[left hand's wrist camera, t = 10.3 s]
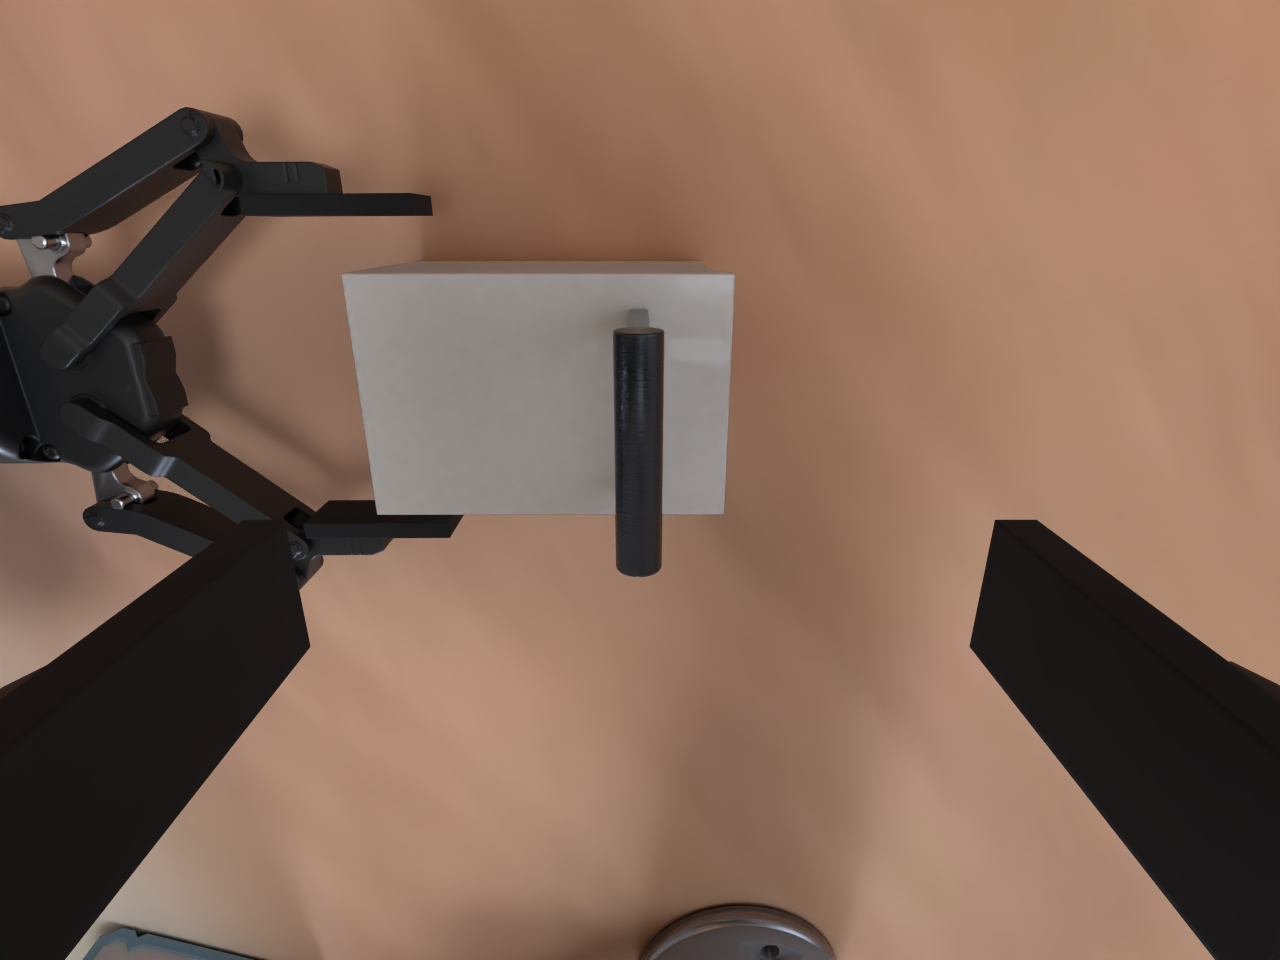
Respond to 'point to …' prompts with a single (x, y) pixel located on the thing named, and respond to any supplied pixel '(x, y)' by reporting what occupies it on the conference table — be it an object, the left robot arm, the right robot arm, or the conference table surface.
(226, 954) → the book
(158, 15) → the conference table surface
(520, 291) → the lid
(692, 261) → the chest
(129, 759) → the left robot arm
